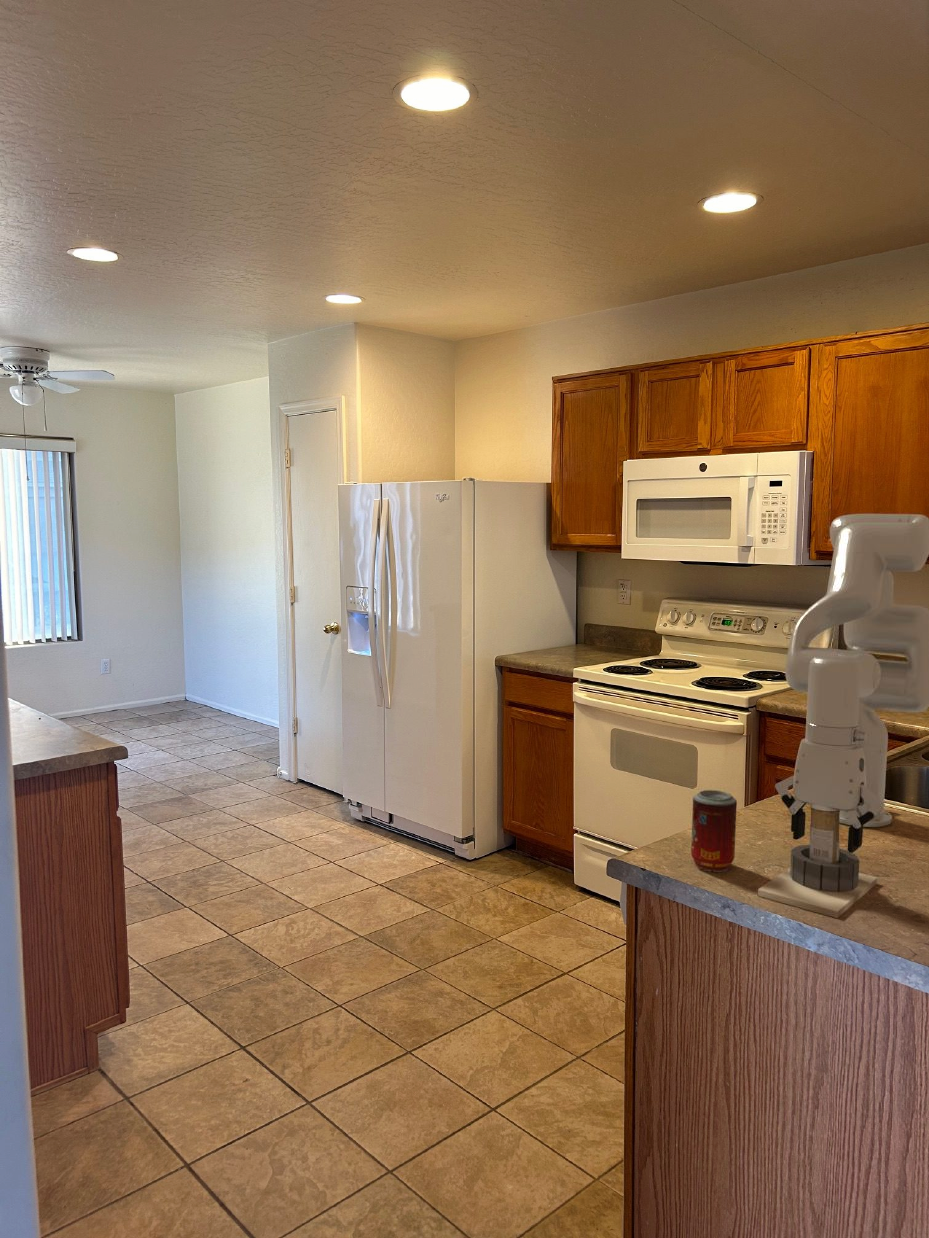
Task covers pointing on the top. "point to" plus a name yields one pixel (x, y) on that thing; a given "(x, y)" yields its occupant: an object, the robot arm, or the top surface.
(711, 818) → the soda can
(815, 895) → the collar stand
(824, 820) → the sprinkles bottle
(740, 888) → the top surface
